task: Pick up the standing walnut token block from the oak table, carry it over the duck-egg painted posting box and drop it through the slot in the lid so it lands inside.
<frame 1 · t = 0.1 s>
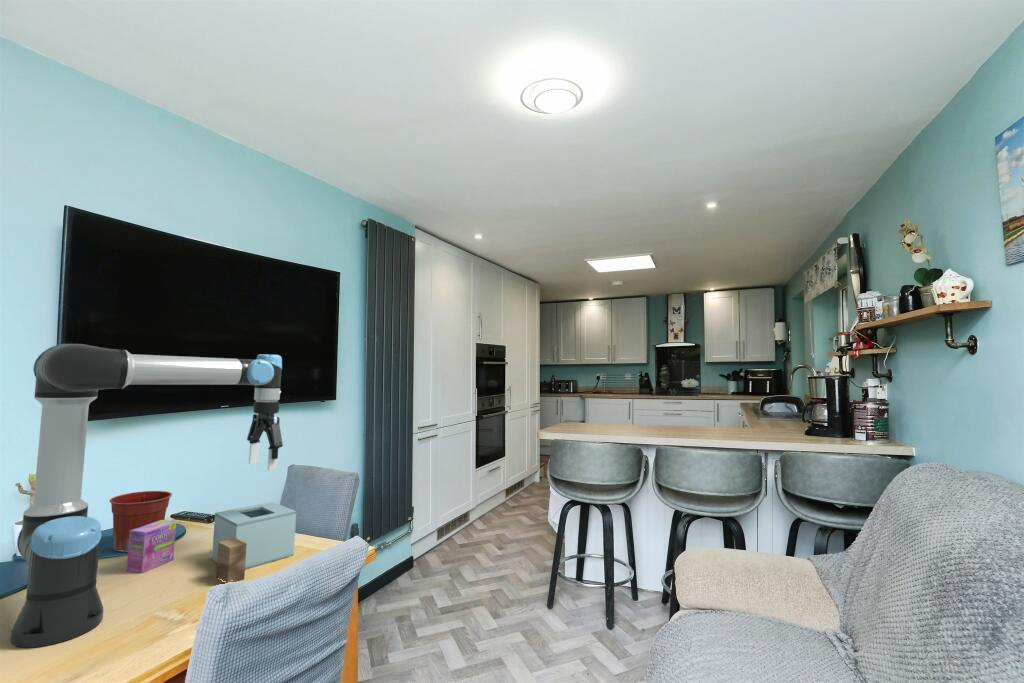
hand: (262, 466, 156), 28 cm above the table, fingers open, 13 cm apart
flower pot: (137, 546, 157), on the table
token: (230, 578, 136), on the table
posting box: (253, 556, 151), on the table
box: (150, 566, 143), on the table
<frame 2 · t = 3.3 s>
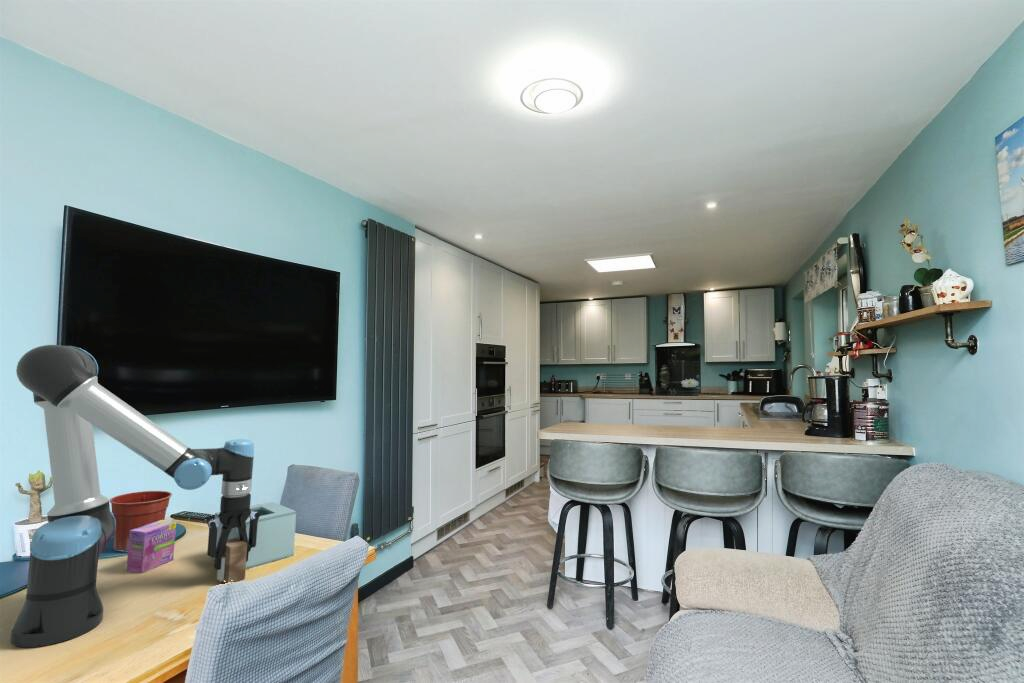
hand: (230, 577, 136), 0 cm above the table, fingers closed on token, 5 cm apart
token: (230, 578, 136), on the table, touching gripper, posting box
everything else where it was.
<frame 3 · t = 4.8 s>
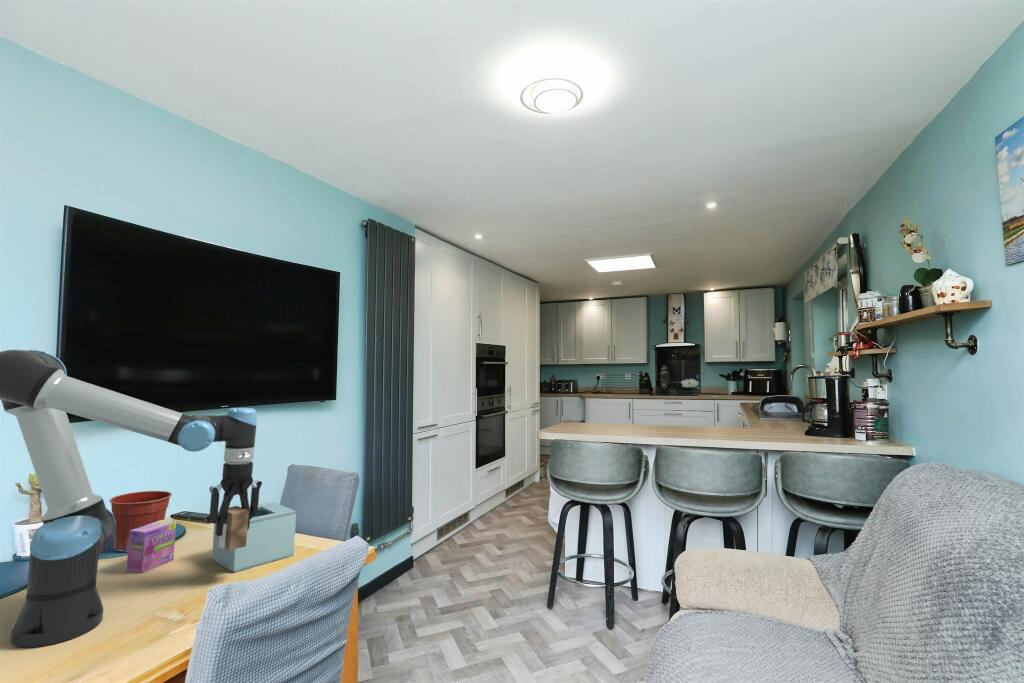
hand: (231, 544, 136), 10 cm above the table, fingers closed on token, 5 cm apart
token: (231, 545, 136), point 9 cm above the table, touching gripper
everything else where it was.
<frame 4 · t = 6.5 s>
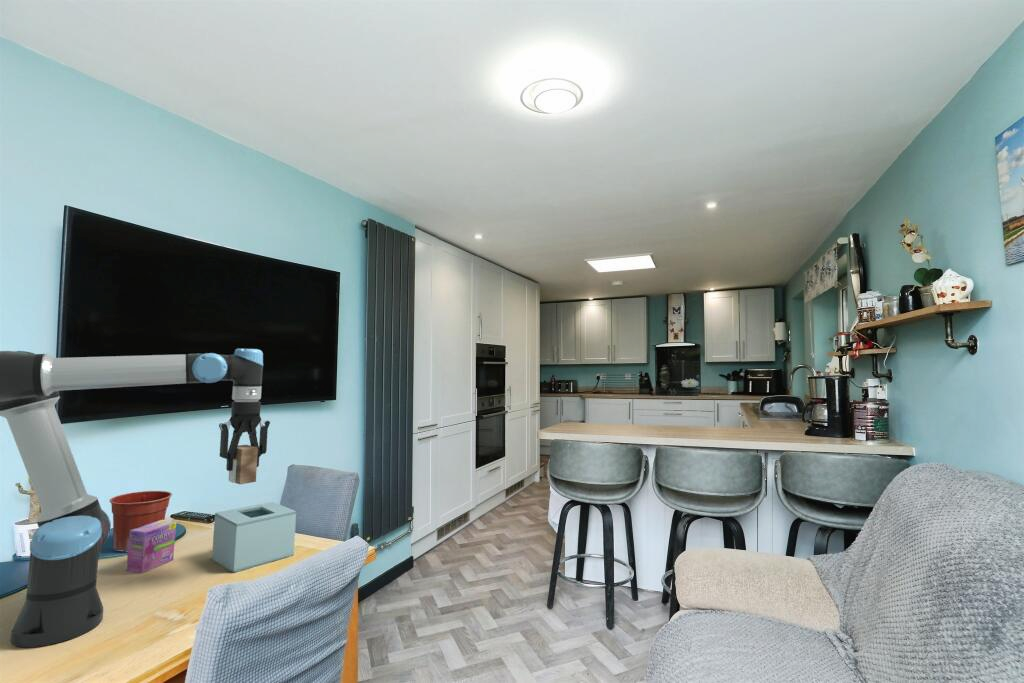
hand: (242, 480, 140), 27 cm above the table, fingers closed on token, 5 cm apart
token: (242, 481, 140), point 27 cm above the table, touching gripper
everything else where it was.
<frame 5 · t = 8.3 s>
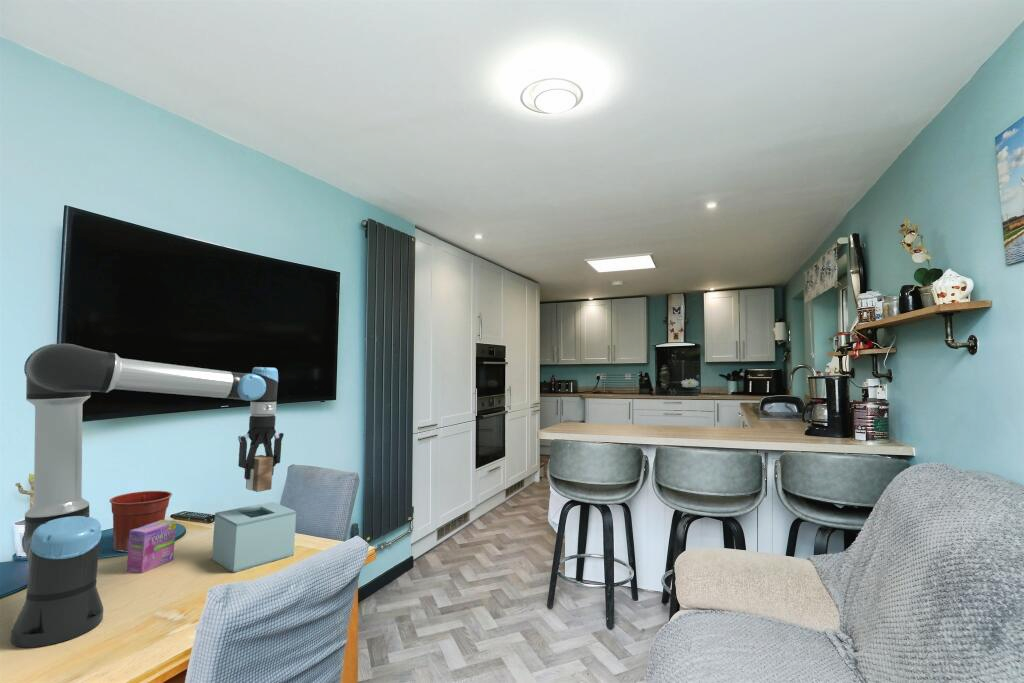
hand: (258, 487, 153), 22 cm above the table, fingers closed on token, 5 cm apart
token: (258, 488, 153), point 21 cm above the table, touching gripper
everything else where it was.
when the fingers open (16 cm above the table, at t = 9.5 s): token drops 15 cm, resting on posting box.
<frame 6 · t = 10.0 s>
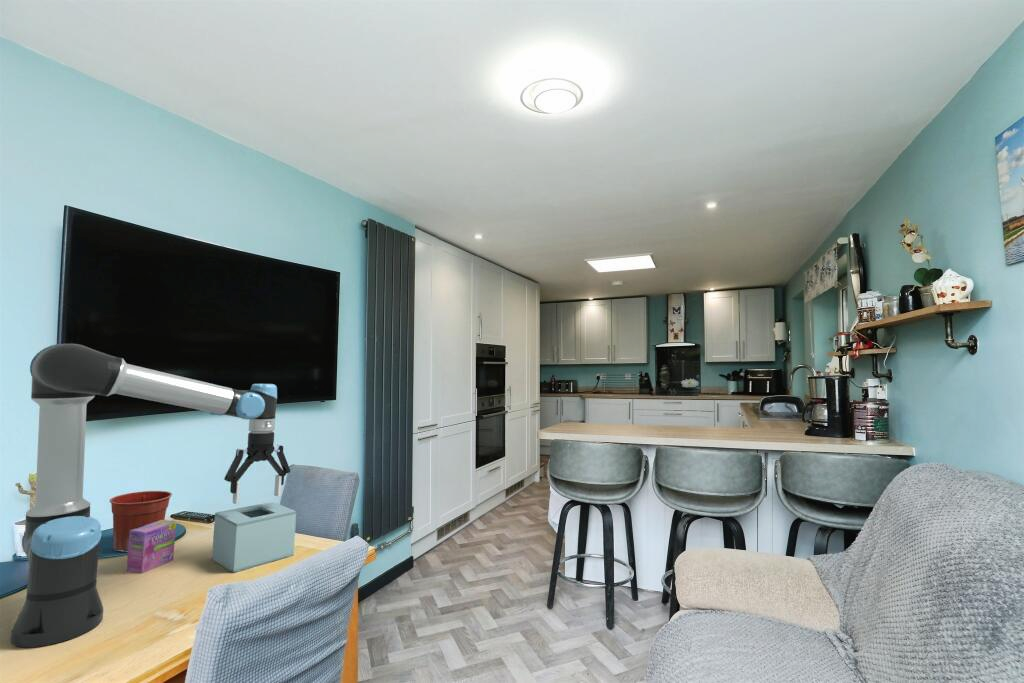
hand: (257, 499, 153), 18 cm above the table, fingers open, 12 cm apart
token: (253, 555, 151), point 1 cm above the table, touching posting box
everything else where it was.
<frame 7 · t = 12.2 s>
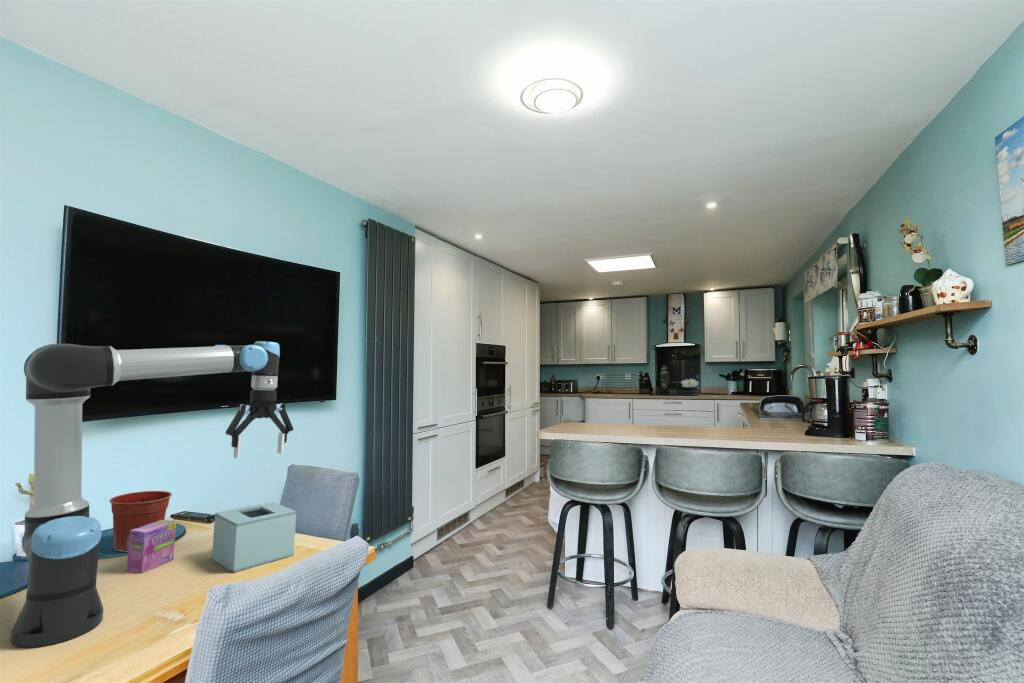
hand: (259, 455, 153), 32 cm above the table, fingers open, 13 cm apart
nothing on the table moved.
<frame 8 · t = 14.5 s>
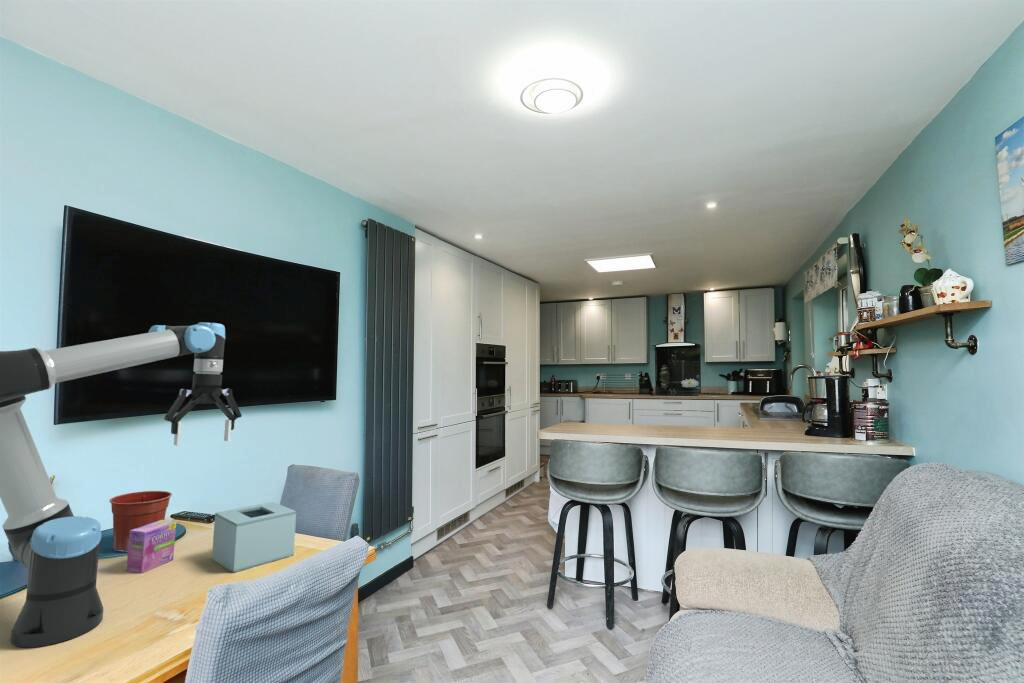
hand: (202, 443, 145), 37 cm above the table, fingers open, 13 cm apart
nothing on the table moved.
at the end: token inside the target area on the posting box (0.1 cm from its centre), point 0.6 cm above the posting box's base; the gripper is holding nothing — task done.
